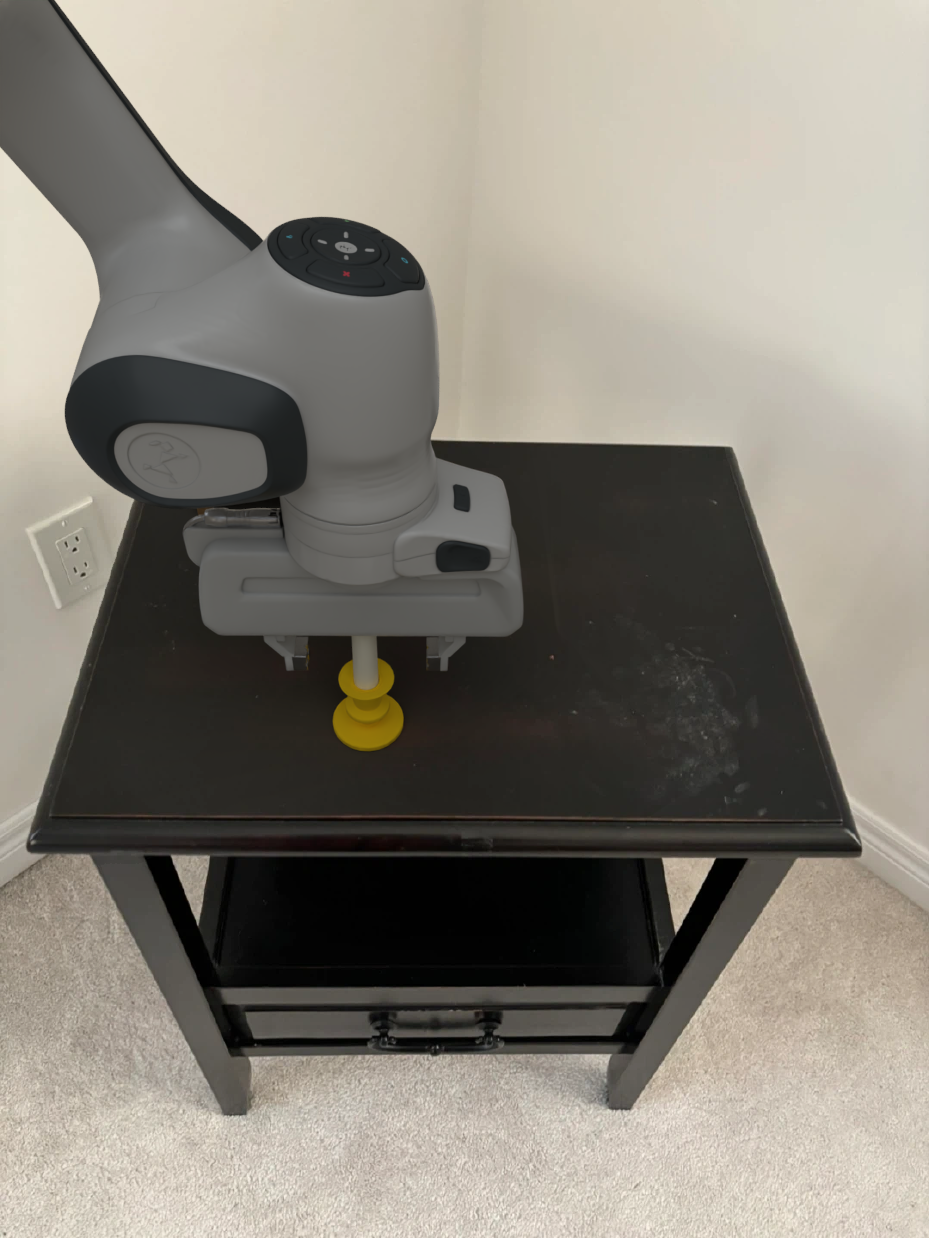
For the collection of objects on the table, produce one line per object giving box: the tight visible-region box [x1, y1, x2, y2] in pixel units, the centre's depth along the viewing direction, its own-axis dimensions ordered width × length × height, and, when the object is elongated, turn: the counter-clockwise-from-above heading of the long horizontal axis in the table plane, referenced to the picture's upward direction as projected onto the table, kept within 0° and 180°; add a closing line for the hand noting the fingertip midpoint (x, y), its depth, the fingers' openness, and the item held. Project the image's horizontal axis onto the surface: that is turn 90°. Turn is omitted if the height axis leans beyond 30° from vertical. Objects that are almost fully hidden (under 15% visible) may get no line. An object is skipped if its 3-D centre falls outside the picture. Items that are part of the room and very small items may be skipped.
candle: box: [332, 636, 405, 752], centre depth 63 cm, size 5×5×16 cm
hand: (368, 663), depth 64 cm, fingers open, 8 cm apart
